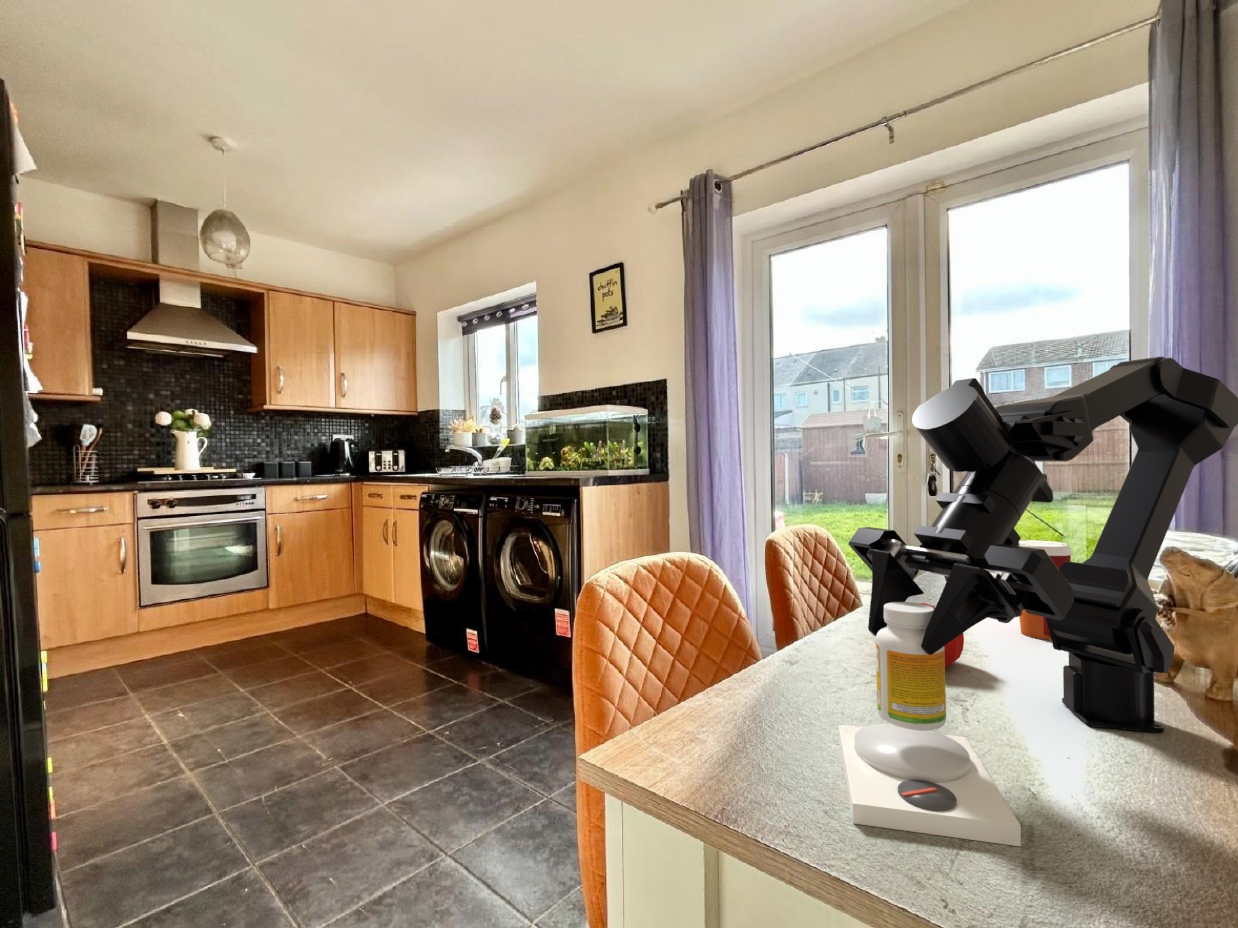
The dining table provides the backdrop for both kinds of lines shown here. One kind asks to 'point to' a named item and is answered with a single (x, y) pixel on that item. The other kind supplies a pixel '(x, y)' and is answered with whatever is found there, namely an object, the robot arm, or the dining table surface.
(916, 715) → the supplement bottle
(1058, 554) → the paper cup
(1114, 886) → the dining table surface
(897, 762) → the kitchen scale
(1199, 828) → the dining table surface
